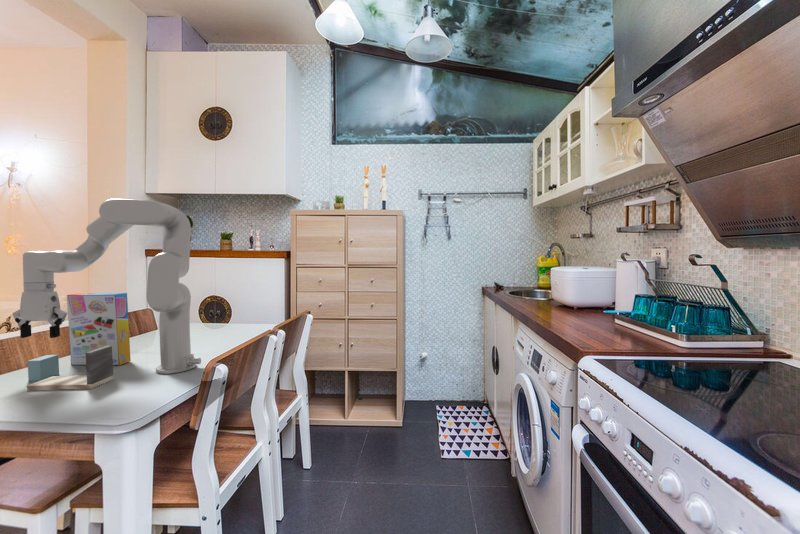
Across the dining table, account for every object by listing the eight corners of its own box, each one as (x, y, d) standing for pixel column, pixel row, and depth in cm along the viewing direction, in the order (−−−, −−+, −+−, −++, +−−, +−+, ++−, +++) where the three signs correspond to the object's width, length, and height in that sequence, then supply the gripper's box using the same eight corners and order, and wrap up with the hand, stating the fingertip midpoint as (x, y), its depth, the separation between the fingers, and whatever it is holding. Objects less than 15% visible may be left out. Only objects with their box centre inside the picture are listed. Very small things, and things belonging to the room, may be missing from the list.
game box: (131, 361, 147) (128, 292, 146) (119, 366, 142) (116, 294, 141) (83, 361, 150) (79, 292, 148) (69, 365, 144) (66, 294, 143)
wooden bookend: (113, 379, 127) (111, 345, 126) (92, 389, 118) (90, 352, 117) (52, 380, 126) (51, 346, 126) (26, 390, 117) (24, 354, 117)
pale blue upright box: (59, 374, 133) (58, 354, 133) (40, 381, 126) (39, 360, 126) (47, 374, 133) (46, 355, 133) (28, 381, 126) (27, 360, 126)
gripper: (74, 286, 132) (75, 334, 133) (23, 286, 132) (25, 334, 133) (55, 288, 125) (56, 339, 125) (1, 288, 124) (3, 339, 125)
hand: (40, 337), depth 129 cm, fingers open, 9 cm apart
